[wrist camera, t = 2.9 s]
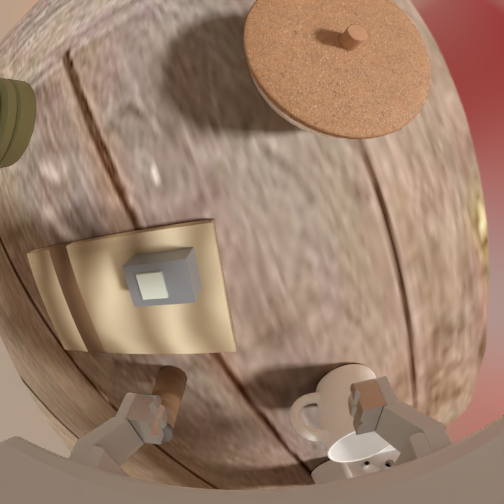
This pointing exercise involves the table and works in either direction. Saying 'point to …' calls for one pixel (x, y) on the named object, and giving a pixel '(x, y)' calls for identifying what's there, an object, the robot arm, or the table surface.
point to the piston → (15, 119)
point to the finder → (163, 277)
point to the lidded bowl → (337, 64)
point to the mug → (338, 416)
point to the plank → (119, 299)
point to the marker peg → (170, 395)
